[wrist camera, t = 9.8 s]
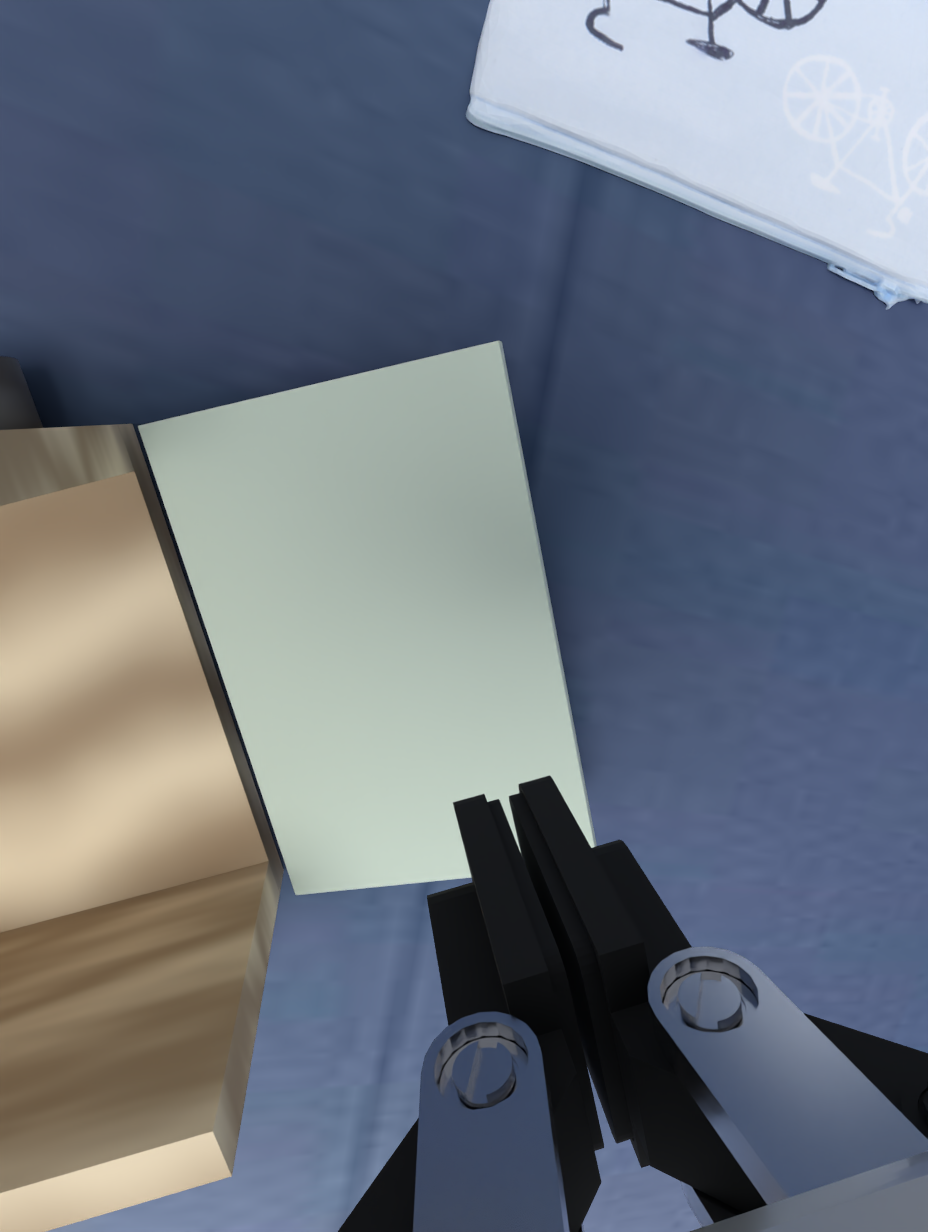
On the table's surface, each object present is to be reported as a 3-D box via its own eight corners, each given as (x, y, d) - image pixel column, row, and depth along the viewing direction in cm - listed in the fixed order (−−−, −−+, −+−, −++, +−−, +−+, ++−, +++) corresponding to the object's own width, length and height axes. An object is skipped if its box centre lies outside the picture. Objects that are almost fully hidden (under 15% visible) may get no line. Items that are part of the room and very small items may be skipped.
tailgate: (137, 425, 23) (498, 340, 21) (167, 421, 24) (503, 342, 22) (295, 895, 28) (597, 864, 26) (310, 864, 29) (595, 833, 27)
